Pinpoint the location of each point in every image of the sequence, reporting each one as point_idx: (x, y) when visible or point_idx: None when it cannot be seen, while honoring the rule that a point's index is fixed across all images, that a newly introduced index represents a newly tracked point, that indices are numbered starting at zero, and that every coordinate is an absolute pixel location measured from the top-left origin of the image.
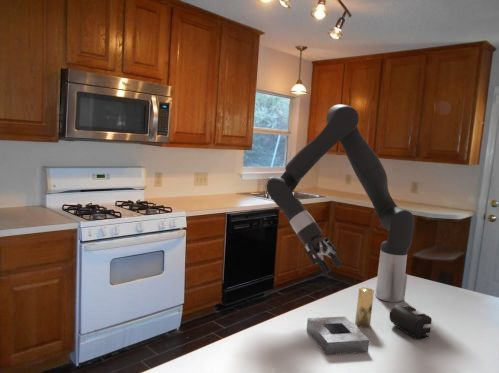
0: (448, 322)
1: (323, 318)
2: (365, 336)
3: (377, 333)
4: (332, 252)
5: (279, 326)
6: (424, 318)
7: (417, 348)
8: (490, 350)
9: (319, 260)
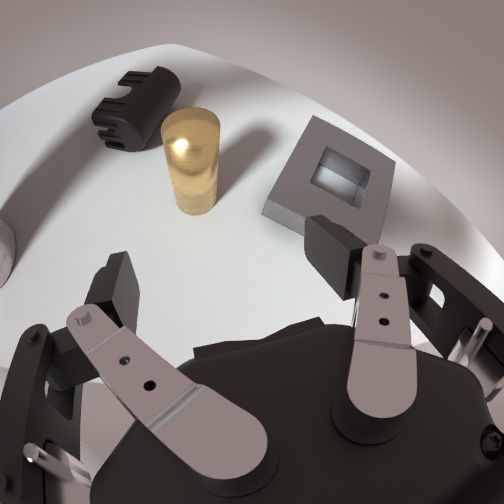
0: (47, 120)
1: None
2: (309, 123)
3: None
4: (116, 327)
5: None
6: (144, 72)
7: (203, 93)
8: (117, 58)
9: (401, 257)
